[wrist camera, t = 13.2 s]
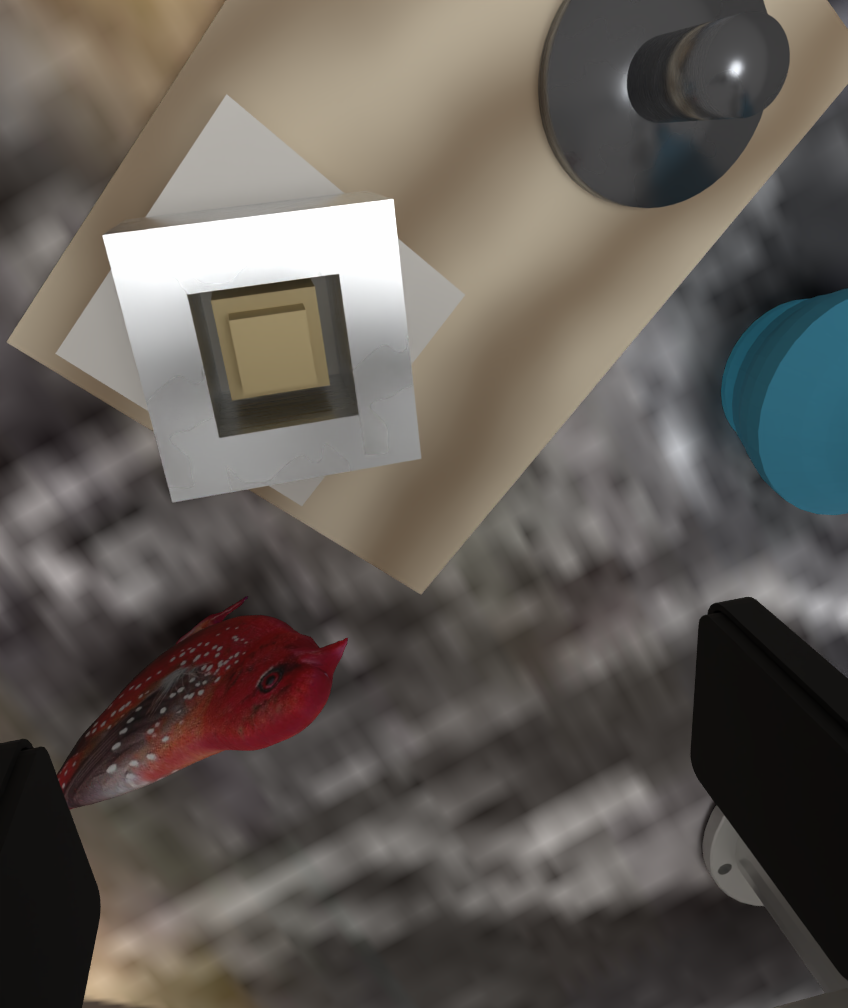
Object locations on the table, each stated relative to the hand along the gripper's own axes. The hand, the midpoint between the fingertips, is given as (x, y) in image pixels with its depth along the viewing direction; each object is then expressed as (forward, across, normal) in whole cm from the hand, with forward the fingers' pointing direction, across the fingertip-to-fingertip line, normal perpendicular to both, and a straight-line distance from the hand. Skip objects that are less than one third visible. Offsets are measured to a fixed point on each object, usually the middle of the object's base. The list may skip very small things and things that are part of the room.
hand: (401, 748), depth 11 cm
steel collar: (+16, +1, -3) cm, 17 cm away
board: (+21, -6, -6) cm, 23 cm away
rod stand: (+20, -13, -9) cm, 25 cm away
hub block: (+19, +1, -3) cm, 20 cm away
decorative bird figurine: (+21, +8, +11) cm, 25 cm away
